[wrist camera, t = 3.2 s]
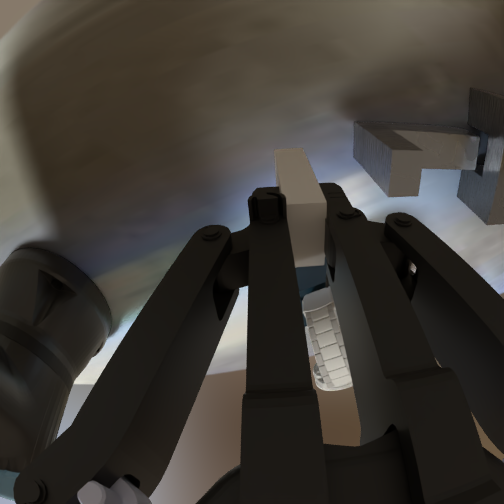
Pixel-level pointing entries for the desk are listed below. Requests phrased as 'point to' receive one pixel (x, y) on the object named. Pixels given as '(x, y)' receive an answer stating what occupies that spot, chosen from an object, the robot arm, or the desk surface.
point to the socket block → (486, 159)
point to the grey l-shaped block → (411, 152)
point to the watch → (323, 329)
